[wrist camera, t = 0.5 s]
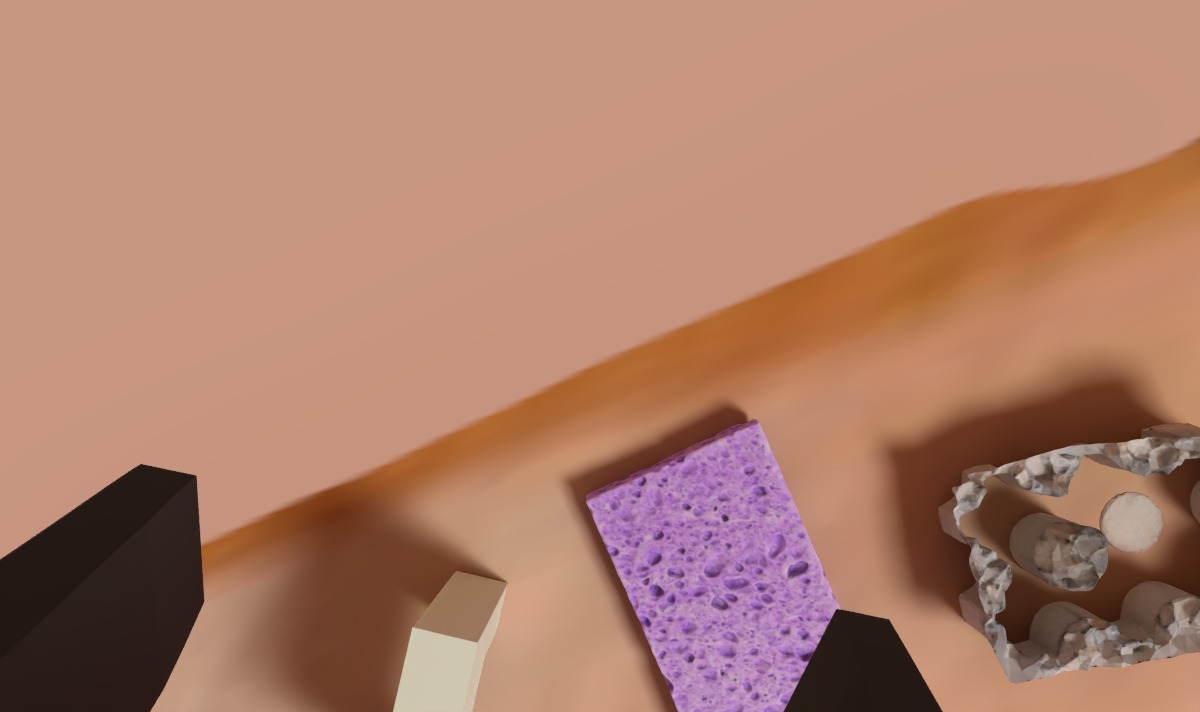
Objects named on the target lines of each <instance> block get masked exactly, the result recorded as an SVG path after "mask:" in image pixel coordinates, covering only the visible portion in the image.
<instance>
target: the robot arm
mask: <svg viewBox="0 0 1200 712" xmlns="http://www.w3.org/2000/svg"><path fill="white" fill-rule="evenodd" d="M197 494H198V493H197V478H196V476H195V475H191V474H186V473H181V472H176V471H171V470H166V469H162V468H157V467H152V466H147V465H143V464H140V465H139V466H137V467H135V468H134V469H132V470H131V471H129V472H128V473H126V474H125V475H123V476H122V477H120V478H119V479H117V480H116V481H114V482H113V483H111V484H110V485H108V486H107V487H105V488H104V489H102V490H101V491H100V492H98V493H97V494H95V495H94V496H92V497H91V498H89V499H88V500H87V501H85V502H84V503H82V504H81V505H79V506H78V507H76V508H75V509H74V510H72V511H71V512H69V513H68V514H66V515H65V516H64V517H62V518H60V519H59V520H58V521H56V522H55V523H53V524H52V525H51V526H49V527H47V528H46V529H45V530H43V531H42V532H40V533H39V534H37V535H36V536H34V537H33V538H31V539H30V540H28V541H27V542H25V543H24V544H22V545H21V546H20V547H18V548H17V549H15V550H14V551H12V552H11V553H9V554H8V555H6V556H5V557H3V558H2V559H0V712H150V711H151V709H152V708H153V706H154V704H155V702H156V701H157V699H158V697H159V696H160V694H161V692H162V691H163V689H164V687H165V685H166V683H167V681H168V679H169V677H170V675H171V673H172V671H173V669H174V666H175V664H176V662H177V660H178V658H179V656H180V654H181V652H182V650H183V648H184V645H185V643H186V641H187V639H188V637H189V634H190V632H191V630H192V628H193V626H194V623H195V621H196V619H197V617H198V614H199V612H200V610H201V608H202V606H203V603H204V589H203V573H202V557H201V541H200V525H199V509H198V495H197ZM783 712H943V711H942V710H941V708H940V706H939V705H938V703H937V701H936V699H935V698H934V696H933V694H932V693H931V691H930V689H929V687H928V686H927V684H926V682H925V680H924V679H923V677H922V675H921V673H920V672H919V670H918V668H917V667H916V665H915V663H914V661H913V660H912V658H911V656H910V654H909V653H908V651H907V649H906V648H905V646H904V644H903V642H902V641H901V639H900V637H899V636H898V634H897V632H896V631H895V629H894V627H893V625H892V624H891V622H890V620H889V619H884V618H879V617H874V616H869V615H864V614H860V613H855V612H850V611H845V610H840V609H836V610H835V612H834V614H833V616H832V618H831V620H830V622H829V624H828V626H827V628H826V630H825V632H824V634H823V636H822V637H821V639H820V641H819V643H818V645H817V647H816V649H815V651H814V653H813V655H812V657H811V659H810V661H809V663H808V665H807V667H806V669H805V671H804V672H803V674H802V676H801V678H800V680H799V682H798V684H797V686H796V688H795V690H794V692H793V694H792V696H791V698H790V700H789V702H788V704H787V706H786V707H785V709H784V711H783Z"/></svg>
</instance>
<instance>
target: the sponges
mask: <svg viewBox="0 0 1200 712" xmlns="http://www.w3.org/2000/svg"><path fill="white" fill-rule="evenodd" d="M586 504H587V506H588V507H589V510H590V512H591V514H592V517H593V520H594V522H595V524H596V526H597V529H598V531H599V533H600V535H601V537H602V540H603V542H604V544H605V546H606V548H607V550H608V552H609V555H610V557H611V560H612V562H613V564H614V567H615V569H616V572H617V574H618V576H619V578H620V580H621V582H622V584H623V586H624V587H625V590H626V592H627V596H628V598H629V600H630V602H631V604H632V606H633V609H634V611H635V613H636V615H637V617H638V619H639V621H640V623H641V626H642V628H643V631H644V634H645V636H646V639H647V640H648V642H649V645H650V648H651V650H652V653H653V655H654V657H655V659H656V661H657V664H658V666H659V668H660V670H661V673H662V674H663V676H664V678H665V681H666V683H667V686H668V688H669V691H670V693H671V696H672V699H673V701H674V703H675V706H676V709H677V711H678V712H783V711H784V709H785V707H786V706H787V704H788V702H789V700H790V698H791V696H792V694H793V692H794V690H795V688H796V686H797V684H798V682H799V680H800V678H801V676H802V674H803V672H804V671H805V669H806V667H807V665H808V663H809V661H810V659H811V657H812V655H813V653H814V651H815V649H816V647H817V645H818V643H819V641H820V639H821V637H822V636H823V634H824V632H825V630H826V628H827V626H828V624H829V622H830V620H831V618H832V616H833V614H834V612H835V610H836V609H840V610H841V608H840V606H839V604H838V603H837V601H836V599H835V597H834V595H833V592H832V589H831V587H830V585H829V582H828V579H827V578H826V576H825V574H824V571H823V568H822V565H821V563H820V561H819V558H818V556H817V554H816V552H815V550H814V547H813V545H812V543H811V540H810V538H809V536H808V534H807V532H806V530H805V527H804V525H803V523H802V521H801V518H800V515H799V512H798V510H797V508H796V505H795V503H794V501H793V499H792V497H791V494H790V492H789V490H788V488H787V485H786V483H785V480H784V478H783V476H782V473H781V471H780V468H779V466H778V464H777V462H776V460H775V458H774V455H773V453H772V452H771V449H770V447H769V443H768V441H767V438H766V436H765V434H764V432H763V430H762V428H761V426H760V423H759V422H758V421H757V420H755V419H752V420H751V421H749V422H747V423H745V424H736V425H733V426H731V427H729V428H727V429H725V430H723V431H721V432H719V433H717V434H716V435H715V436H713V437H711V438H707V439H705V440H703V441H701V442H698V443H696V444H694V445H692V446H690V447H687V448H685V449H684V450H682V451H680V452H677V453H675V454H673V455H671V456H669V457H667V458H666V459H663V460H661V461H660V462H658V463H656V464H655V465H653V466H651V467H649V468H645V469H643V470H640V471H637V472H635V473H632V474H630V475H628V476H626V477H624V478H622V479H620V480H617V481H615V482H613V483H610V484H608V485H605V486H603V487H601V488H599V489H597V490H595V491H592V492H590V493H588V494H587V495H586Z"/></svg>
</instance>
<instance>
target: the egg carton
mask: <svg viewBox="0 0 1200 712" xmlns="http://www.w3.org/2000/svg"><path fill="white" fill-rule="evenodd" d="M1084 455H1086V456H1087V457H1089V458H1090V459H1092V460H1094V461H1095V462H1098V463H1100V464H1102V465H1106V466H1109V467H1112V468H1117V469H1122V470H1127V471H1130V472H1132V473H1134V474H1138V475H1142V476H1147V475H1149V474H1151V473H1160V474H1163V475H1169V474H1170V473H1171V472H1172V471H1173V470H1174V469H1175V468H1176V467H1177V466H1178V465H1179V466H1180V465H1182V463H1183V461H1184V460H1185V459H1191V458H1200V428H1199V427H1196V426H1194V425H1191V424H1182V423H1176V424H1162V425H1155V426H1152V427H1149V428H1145V429H1143V430H1141V439H1136V440H1131V441H1128V442H1121V443H1100V444H1083V443H1077V444H1073V445H1071V446H1068V447H1065V448H1061V449H1057V450H1053V451H1050V452H1046V453H1043V454H1040V455H1036V456H1033V457H1030V458H1026V459H1023V460H1020V461H1016V462H1013V463H1009V464H1005V465H1003V466H1001V467H999V468H998V467H994V466H992V465H991V464H986V465H978V466H974V467H971V468H968V469H966V470H964V471H962V478H961V485H960V486H956V487H953V488H952V492H953V493H954V494H955V495H954V497H953V498H952V499H950V500H949V501H947V502H946V503H945V504H943V505H941V506H940V507H939V508H938V513H939V518H940V521H941V526H942V530H943V531H944V532H945V533H946V534H948V535H950V536H952V537H954V538H955V539H956V540H958V541H960V542H961V543H964V544H967V545H970V547H971V549H972V551H971V554H970V557H969V566H970V568H971V571H972V574H973V576H974V578H975V579H976V583H975V584H974V585H973V586H972V587H971V588H970V589H968V590H966V591H964V592H963V593H961V594H960V595H959V603H960V607H961V611H962V617H963V618H964V620H965V622H967V623H968V624H970V625H971V626H973V627H974V628H975V629H977V630H978V631H979V632H980V633H982V634H983V635H984V636H985V637H986V638H987V639H988V641H989V642H990V644H991V646H992V648H993V649H994V652H995V654H996V656H997V659H998V661H999V662H1000V664H1001V666H1002V668H1003V670H1004V672H1005V674H1006V676H1007V677H1008V679H1009V681H1010V682H1012V683H1015V684H1017V683H1021V682H1026V681H1031V680H1035V679H1040V678H1045V677H1051V676H1055V675H1057V674H1058V673H1060V672H1065V671H1071V670H1084V671H1089V670H1090V669H1091V667H1100V666H1103V667H1117V668H1123V667H1127V666H1130V665H1133V664H1136V663H1140V662H1144V661H1149V660H1156V659H1164V658H1172V657H1175V656H1179V655H1182V654H1186V653H1195V652H1200V597H1198V596H1195V595H1192V594H1190V593H1187V592H1185V591H1183V590H1181V589H1178V588H1176V587H1173V586H1171V585H1168V584H1166V583H1163V582H1159V581H1146V582H1143V583H1140V584H1138V585H1137V586H1135V587H1133V588H1132V589H1131V590H1130V591H1129V592H1128V593H1127V594H1126V596H1125V598H1124V600H1123V603H1122V609H1121V616H1120V619H1119V620H1117V621H1114V622H1109V621H1106V620H1102V619H1100V618H1099V617H1097V616H1095V615H1093V614H1092V613H1090V612H1088V611H1086V610H1085V609H1083V608H1081V607H1079V606H1077V605H1075V604H1073V603H1070V602H1064V601H1063V602H1054V603H1050V604H1047V605H1045V606H1044V607H1042V608H1041V609H1040V610H1039V611H1038V612H1037V613H1036V615H1035V616H1034V618H1033V621H1032V623H1031V627H1030V636H1029V640H1027V641H1024V642H1020V643H1016V644H1012V643H1010V642H1009V641H1008V640H1007V638H1006V629H1005V628H1004V627H1003V626H1002V625H1001V624H1000V623H999V622H997V621H996V620H995V616H996V614H997V613H999V612H1001V611H1003V610H1004V609H1005V606H1006V604H1005V592H1006V590H1007V588H1008V587H1009V586H1010V584H1011V582H1012V573H1011V566H1010V564H1009V563H1007V562H1005V561H1003V560H1002V559H1000V558H998V557H997V555H996V552H994V551H992V550H990V549H988V548H986V547H984V546H982V545H980V544H979V542H978V541H977V539H976V538H971V537H965V536H964V535H963V533H962V532H961V529H960V523H959V518H960V517H961V516H962V515H963V514H965V513H967V512H970V511H973V510H975V509H977V508H978V507H979V505H980V503H981V501H982V499H983V497H984V496H985V494H986V492H987V489H986V488H985V487H984V482H983V481H984V480H985V479H986V478H989V477H991V476H994V475H996V476H997V477H999V478H1000V479H1001V480H1002V481H1004V482H1006V483H1008V484H1009V485H1012V486H1015V487H1018V488H1021V489H1023V490H1026V491H1029V492H1032V493H1035V494H1039V495H1050V496H1054V497H1061V496H1064V495H1066V494H1068V486H1069V483H1070V480H1071V479H1072V477H1073V476H1074V475H1075V474H1076V472H1077V470H1078V468H1079V465H1080V458H1081V456H1084ZM1190 506H1191V511H1192V513H1193V515H1194V517H1195V519H1196V520H1197V521H1198V523H1199V524H1200V480H1199V481H1198V482H1197V483H1196V484H1195V486H1194V488H1193V490H1192V492H1191V496H1190ZM1162 528H1163V520H1162V515H1161V512H1160V509H1159V507H1158V506H1156V505H1155V503H1154V502H1153V501H1152V500H1151V499H1150V498H1149V497H1147V496H1144V495H1142V494H1140V493H1131V492H1126V493H1123V494H1121V495H1117V496H1116V497H1115V498H1112V499H1111V500H1110V501H1109V502H1108V503H1107V504H1106V506H1105V507H1104V509H1103V511H1102V514H1101V518H1100V529H1101V531H1102V532H1101V531H1099V530H1098V529H1096V528H1093V527H1089V526H1083V525H1079V524H1076V523H1074V522H1071V521H1068V520H1065V519H1062V518H1060V517H1057V516H1054V515H1050V514H1046V513H1034V514H1030V515H1028V516H1026V517H1024V518H1022V519H1021V520H1020V521H1019V522H1018V523H1017V524H1016V525H1015V526H1014V528H1013V529H1012V532H1011V535H1010V543H1009V549H1010V551H1011V554H1012V557H1013V558H1014V560H1015V561H1016V562H1017V564H1018V565H1019V566H1020V567H1022V568H1023V569H1025V570H1026V571H1028V572H1029V573H1031V574H1033V575H1035V576H1036V577H1038V578H1040V579H1042V580H1043V581H1045V582H1046V583H1048V584H1049V585H1052V586H1055V587H1058V588H1061V589H1064V590H1069V591H1089V590H1092V589H1093V588H1094V587H1095V586H1096V584H1097V582H1098V580H1099V578H1100V577H1101V576H1102V575H1103V574H1104V572H1105V570H1106V568H1107V564H1108V552H1107V546H1108V545H1109V544H1110V545H1111V546H1112V547H1114V548H1116V549H1118V550H1120V551H1124V552H1143V551H1145V550H1147V549H1149V548H1150V547H1151V546H1152V545H1154V544H1155V543H1156V542H1157V540H1158V538H1159V536H1160V534H1161V532H1162Z"/></svg>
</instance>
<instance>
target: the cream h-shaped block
mask: <svg viewBox="0 0 1200 712" xmlns="http://www.w3.org/2000/svg"><path fill="white" fill-rule="evenodd" d="M507 585H508V583H506V582H502V581H498V580H494V579H489V578H485V577H481V576H477V575H473V574H468V573H464V572H460V571H455V573H454V574H453V575H452V577H451V578H450V579H449V580H448V582H447V583H446V584H445V586H444V587H443V588H442V589H441V591H440V592H439V593H438V595H437V596H436V597H435V599H434V600H433V601H432V602H431V604H430V605H429V606H428V608H427V609H426V610H425V612H424V613H423V614H422V615H421V617H420V618H419V619H418V621H417V622H416V623H415V625H414V626H413V627H412V631H411V636H410V640H409V644H408V649H407V653H406V657H405V662H404V666H403V670H402V675H401V679H400V683H399V688H398V692H397V697H396V701H395V705H394V710H393V712H472V710H473V706H474V701H475V697H476V693H477V688H478V684H479V680H480V675H481V671H482V667H483V662H484V658H485V655H486V653H487V651H488V649H489V646H490V644H491V642H492V640H493V638H494V635H495V633H496V631H497V628H498V624H499V619H500V615H501V611H502V606H503V602H504V598H505V593H506V589H507Z"/></svg>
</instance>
